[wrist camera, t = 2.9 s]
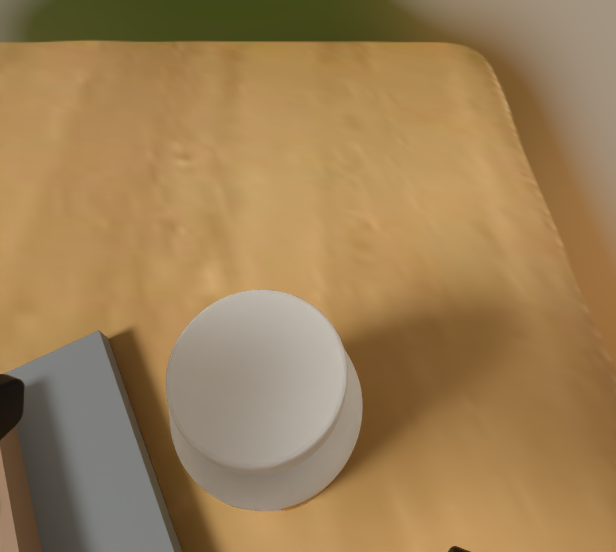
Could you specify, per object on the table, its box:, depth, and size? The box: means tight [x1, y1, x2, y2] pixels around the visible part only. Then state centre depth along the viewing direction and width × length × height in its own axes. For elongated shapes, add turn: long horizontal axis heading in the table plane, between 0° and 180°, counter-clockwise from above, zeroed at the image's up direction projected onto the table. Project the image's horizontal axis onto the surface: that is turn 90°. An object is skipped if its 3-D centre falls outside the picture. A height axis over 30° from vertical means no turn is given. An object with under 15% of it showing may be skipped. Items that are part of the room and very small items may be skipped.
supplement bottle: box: [166, 290, 363, 511], centre depth 13 cm, size 5×5×10 cm
